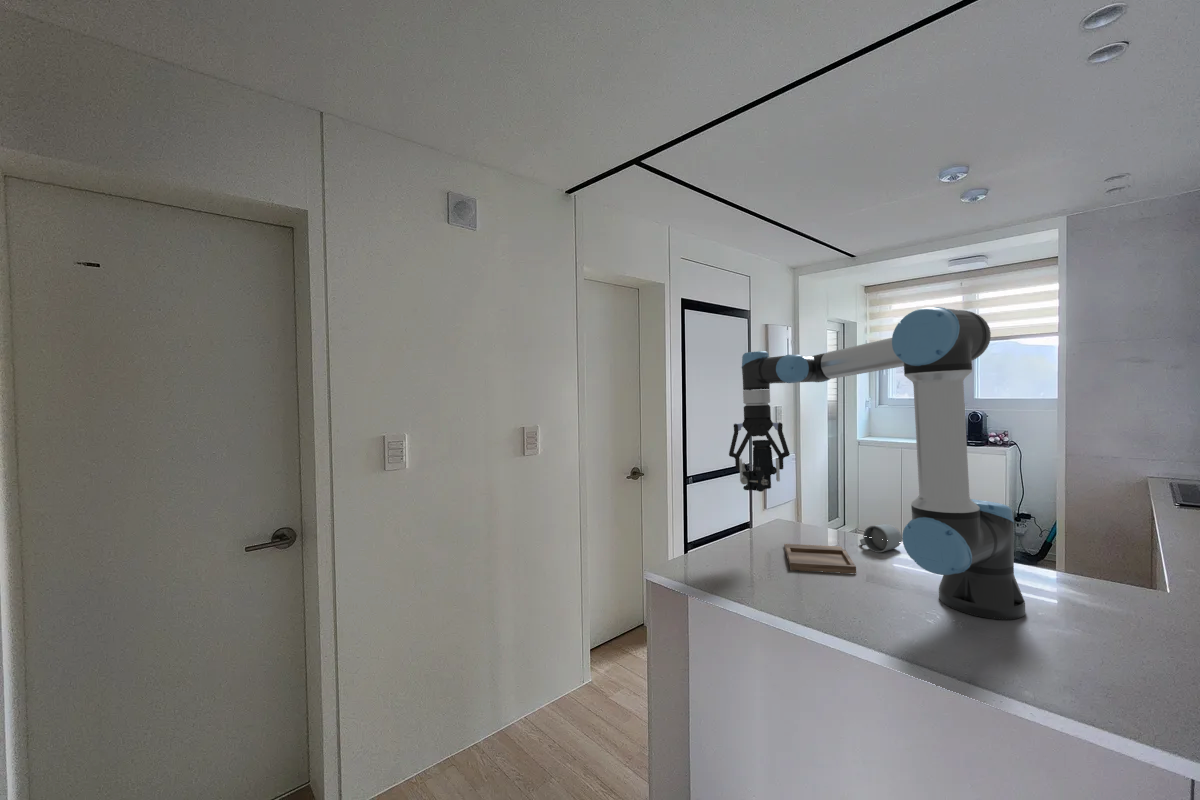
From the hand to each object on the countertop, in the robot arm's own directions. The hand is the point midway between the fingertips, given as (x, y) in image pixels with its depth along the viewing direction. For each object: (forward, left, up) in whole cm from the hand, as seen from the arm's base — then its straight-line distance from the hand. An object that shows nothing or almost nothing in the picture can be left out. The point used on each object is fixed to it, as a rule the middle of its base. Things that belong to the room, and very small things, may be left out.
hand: (759, 480), depth 145 cm
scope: (0, -1, -2) cm, 2 cm away
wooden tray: (-1, -15, -22) cm, 27 cm away
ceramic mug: (+12, -34, -22) cm, 42 cm away
